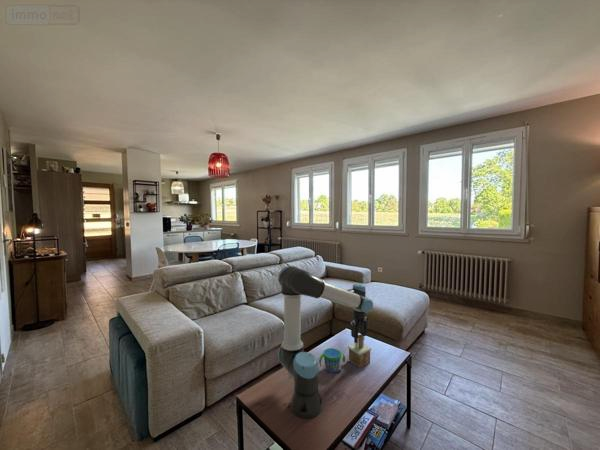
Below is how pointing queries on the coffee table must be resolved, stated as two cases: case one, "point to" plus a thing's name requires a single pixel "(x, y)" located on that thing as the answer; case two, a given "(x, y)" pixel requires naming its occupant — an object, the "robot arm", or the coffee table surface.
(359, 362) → the box
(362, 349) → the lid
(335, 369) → the snack cup
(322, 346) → the coffee table surface
